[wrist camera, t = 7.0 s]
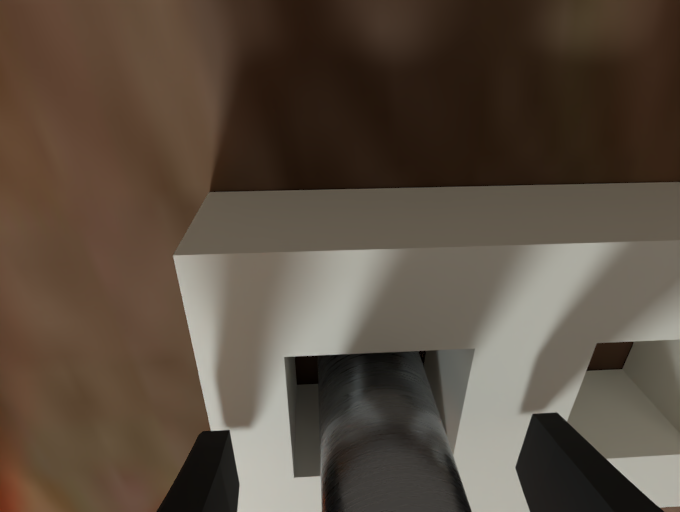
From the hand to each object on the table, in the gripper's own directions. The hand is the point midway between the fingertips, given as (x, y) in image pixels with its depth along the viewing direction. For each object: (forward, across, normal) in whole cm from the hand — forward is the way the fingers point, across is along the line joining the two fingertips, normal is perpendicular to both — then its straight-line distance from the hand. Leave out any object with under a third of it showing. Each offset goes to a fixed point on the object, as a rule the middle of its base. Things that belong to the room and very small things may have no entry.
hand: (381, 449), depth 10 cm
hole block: (+4, -4, 0) cm, 6 cm away
